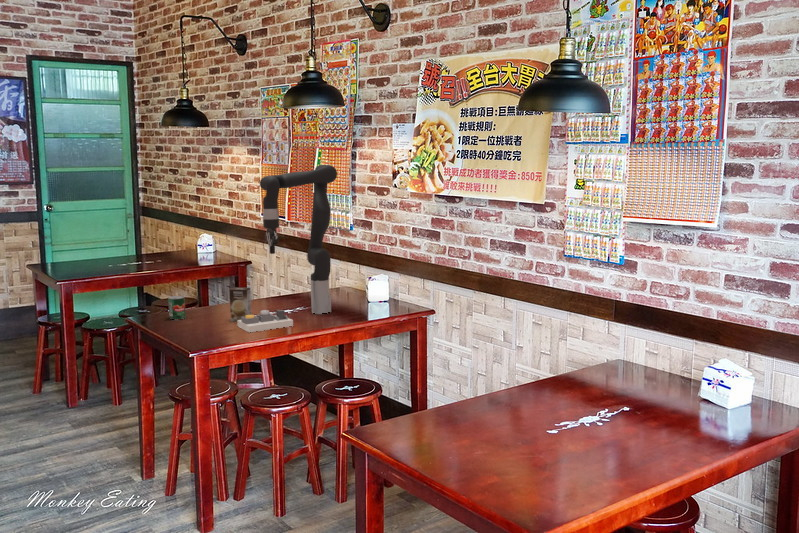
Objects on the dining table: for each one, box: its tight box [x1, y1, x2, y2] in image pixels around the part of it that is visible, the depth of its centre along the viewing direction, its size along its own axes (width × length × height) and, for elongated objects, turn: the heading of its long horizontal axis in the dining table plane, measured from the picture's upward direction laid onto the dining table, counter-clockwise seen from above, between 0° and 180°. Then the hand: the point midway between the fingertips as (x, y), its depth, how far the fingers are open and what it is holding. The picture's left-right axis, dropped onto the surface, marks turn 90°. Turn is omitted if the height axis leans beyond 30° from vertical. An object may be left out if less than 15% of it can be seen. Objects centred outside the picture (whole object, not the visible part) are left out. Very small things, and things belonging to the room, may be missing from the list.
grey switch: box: [260, 309, 270, 317], centre depth 352 cm, size 4×4×3 cm
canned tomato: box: [167, 295, 187, 321], centre depth 371 cm, size 8×8×11 cm
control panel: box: [237, 312, 294, 334], centre depth 352 cm, size 22×15×6 cm
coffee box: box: [229, 286, 252, 323], centre depth 365 cm, size 9×6×16 cm
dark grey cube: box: [275, 309, 286, 320], centre depth 354 cm, size 3×3×4 cm
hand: (272, 253), depth 361 cm, fingers closed
